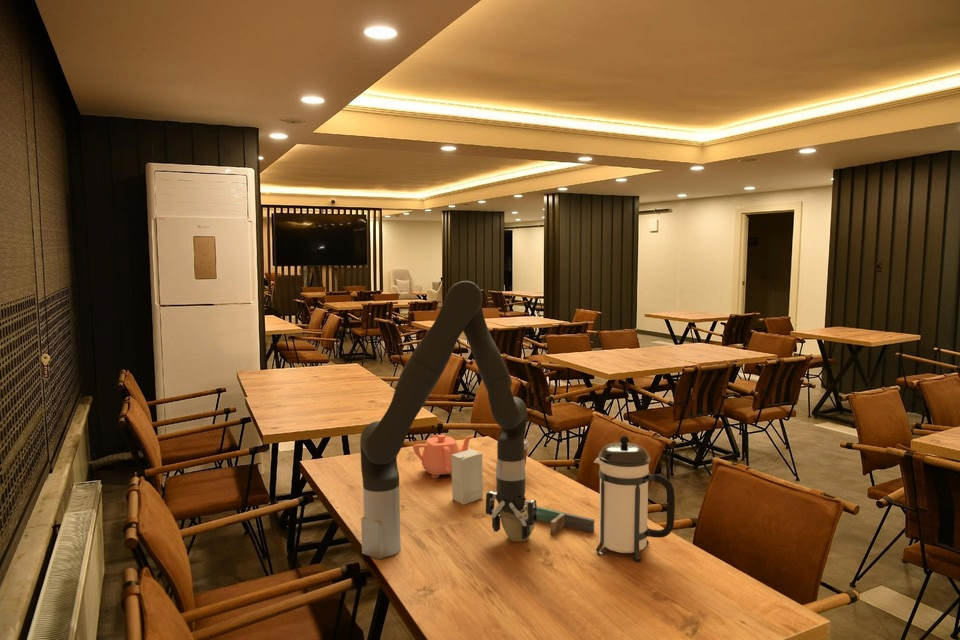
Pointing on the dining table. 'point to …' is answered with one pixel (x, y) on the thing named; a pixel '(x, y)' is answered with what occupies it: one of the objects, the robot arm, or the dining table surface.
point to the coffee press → (628, 499)
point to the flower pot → (514, 526)
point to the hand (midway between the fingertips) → (510, 534)
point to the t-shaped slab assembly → (564, 520)
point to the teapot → (439, 454)
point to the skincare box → (467, 476)
